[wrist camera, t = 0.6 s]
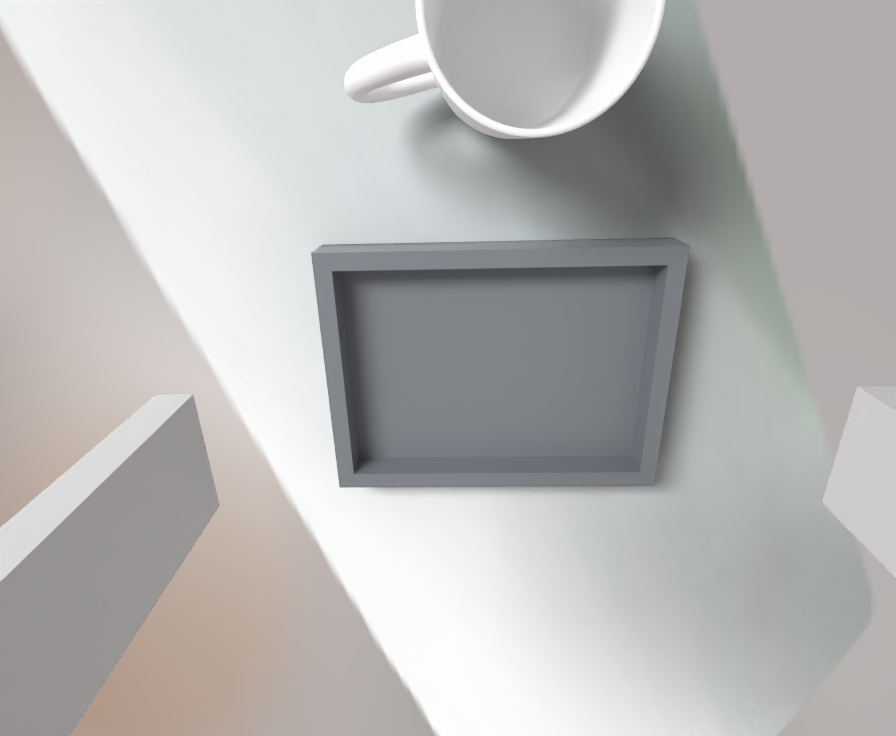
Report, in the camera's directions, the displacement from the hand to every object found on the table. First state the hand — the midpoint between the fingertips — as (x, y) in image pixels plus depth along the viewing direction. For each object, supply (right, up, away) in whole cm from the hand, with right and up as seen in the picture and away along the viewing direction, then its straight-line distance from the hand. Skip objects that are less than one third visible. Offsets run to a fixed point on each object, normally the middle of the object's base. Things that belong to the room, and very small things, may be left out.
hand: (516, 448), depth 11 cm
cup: (0, +17, +16) cm, 24 cm away
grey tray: (+2, +2, +23) cm, 23 cm away
